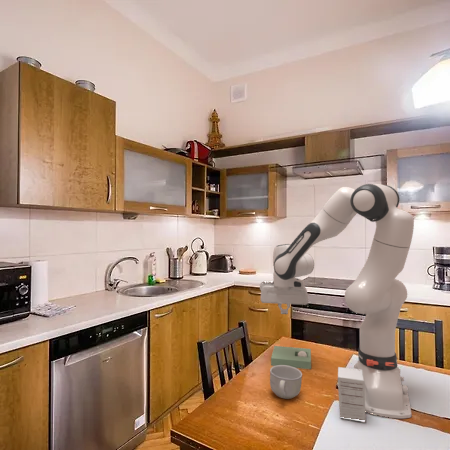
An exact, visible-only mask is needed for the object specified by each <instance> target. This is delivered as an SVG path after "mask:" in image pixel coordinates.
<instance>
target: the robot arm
mask: <svg viewBox="0 0 450 450" xmlns="http://www.w3.org/2000/svg"><path fill="white" fill-rule="evenodd" d="M400 201H401V199H400V195H399V193H398V191H397V190H396V189H395V188H394V187H392V186H390V185H387V184H382V183H366V184H363V185H362V184H361V185H360V186H359V187H357V188H352V187H349V186H342V187H339V188H338V189H337V190H336V191H335V192H334V193H333V194H332V195H331V196H330V197H329V199H328V200H327V201H326V202H325V204H324V205H323V207H322V208H321V209H320V210H319V212H318V213H317V214H316V216H315V217H314V218H313V219H312V220H311V221H310V222H309V223H308V224H307V225H306V226H305V227H304V228H303V229H302V231H301V232H300V233H299V234H298V235H297V236H296V237H295V238H294V240H293V241H292V242H291V243H285V244H279V245H276V246H275V247H274V249H273V254H272V264H273V265H272V266H273V274H272V275H273V276H272V278H273V279H272V280H273V281H270V280H269V281H266V280H264V281H261V282H260V284H259V290H260V302H261V303H262V304H277V307H278V308H279V310H280V314H281V315H288V314H289V310H290V307H291V305H307V304H308V303H309V296H308V290H307V287H306V285H305V284H306V283H305V281H304V279H300V278H299V277H305V276H308V275H311V274H312V272H313V271H314V269H315V260H314V259H313V257H312V255H311V254H309V253H307V252H308V251H309V250H310V249H311V248H312V247H313V246H315V245H316V244H319V242H323V241H325V240H328V239H332V238H335V237H337V236H338V235H340V234H341V233H342V232H343V231H345V229H346V228H347V227H348V226H349V224H350V223H351V222H352V220H353V219H354V218H355V216H356V215H360V216H361V217H363V218H365V219H367V220H368V221H370V222H371V223H374V222H375V231H374V235H373V239H372V242H371V246H370V250H369V254H368V256H367V259H366V261H365V263H364V265H363V267H362V269H361V271H360V272H359V273H358V275H357V277H356V278H355V280H354V281H353V282H352V283H351V284H350V285H349V286H348V287H346V289H345V291H344V301H345V304H346V306H347V307H348V308H349V309H350V311H352V312H353V313H355V314H360V315H365V317H364V320H362V322H361V323H360V326H359V347H358V351H357V355H358V361H357V362H356V363H354V364H353V369H361V370H362V371H363V378H364V391H365V411H366V412H365V413H367V412H369V413H373V414H376V415H375V416H377V415H380V416H379V417H382V416H385V417H384V418H388V417H389V418H390V419H409V418H412V409H411V404H410V398H409V389H408V386H407V385H402V382H404V381H405V380H404V379H405V377H404V376H401V368H399V366H398V357H397V353H396V328H397V323H398V320H399V316H400V312H401V309H402V307H403V305H404V303H405V302H406V300H407V298H408V290H407V287H406V285H405V284H404V283H403V282H402V281H400V280H399V279H397V277H398V275H399V274H401V273H402V271H403V270H404V268H405V263H406V262H407V258H408V254H409V251H410V247H411V244H412V240H413V234H414V229H415V228H414V227H415V226H414V225H415V224H414V223H415V219H414V216H413V215H412V214H411V213H410V212H409V211H406V210H404V209H400V208H398V207H399V205H400ZM282 305H286V309H285V308H283V307H282ZM369 413H368V414H369ZM373 414H372V415H373Z"/></svg>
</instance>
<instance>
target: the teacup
mask: <svg viewBox="0 0 450 450" xmlns="http://www.w3.org/2000/svg"><path fill="white" fill-rule="evenodd" d="M269 373H270V375H269V385H270V389H271V391H272V392H273V393H274V395H276V396H277V397H279V398H281V399H286V400H291V399H293V398H295V397H297V396H298V395H299V394H300V393H301V390H302V389H301V388H302V380H303V379H302V378H303V373H302V371H301V370H300V369H299V368H294V367H291V366H287V365H277V366H272V367H270V369H269Z"/></svg>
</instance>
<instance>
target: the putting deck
mask: <svg viewBox="0 0 450 450" xmlns="http://www.w3.org/2000/svg"><path fill="white" fill-rule="evenodd" d="M300 351H304V352H306V354H307V357H300V356H298V353H299V352H300ZM277 365H287V366H291V367H294V368H297V369H301V370H302V369H304V370H312V349H311V348H304V347H292V346H281V345H274V347H273V350H272V353H271V357H270V366H272V367H273V366H277Z"/></svg>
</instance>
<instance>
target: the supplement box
mask: <svg viewBox="0 0 450 450" xmlns="http://www.w3.org/2000/svg"><path fill="white" fill-rule="evenodd" d="M337 384H338V385H337V388H338V407H339V409H338V410H339V418H340V417H344V418H351V419H359V420H365V421H366V422H367V415H366V413H367V412H365V391H364V378H363V371H362V370H361V369H354V368H352V367H351V368H350V367H340V366H338V367H337Z"/></svg>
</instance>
